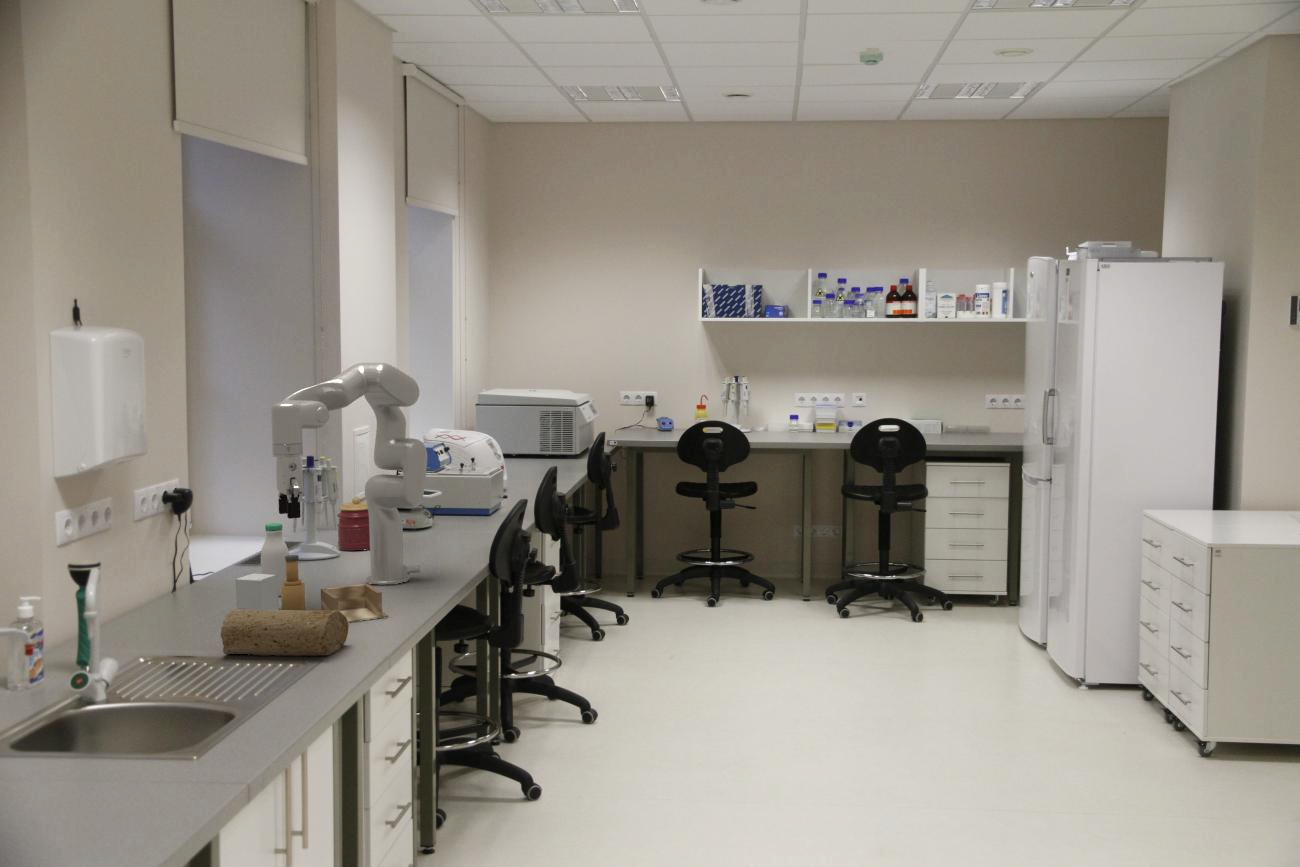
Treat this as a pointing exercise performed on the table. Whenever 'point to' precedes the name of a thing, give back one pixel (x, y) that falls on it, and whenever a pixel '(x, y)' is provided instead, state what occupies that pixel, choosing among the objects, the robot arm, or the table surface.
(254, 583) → the supplement box
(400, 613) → the table surface
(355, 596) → the u rest
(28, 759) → the table surface
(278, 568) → the milk bottle
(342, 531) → the canister
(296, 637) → the core sample
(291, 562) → the bottle
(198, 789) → the table surface
